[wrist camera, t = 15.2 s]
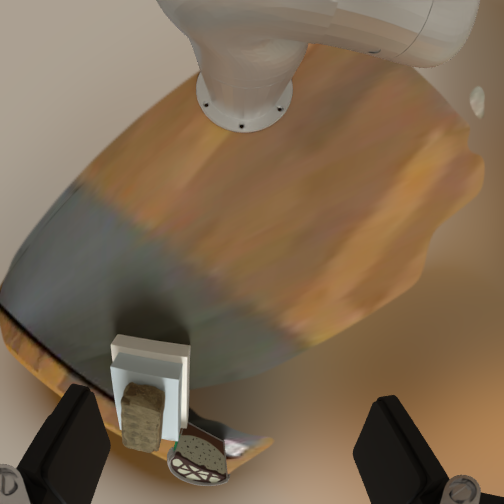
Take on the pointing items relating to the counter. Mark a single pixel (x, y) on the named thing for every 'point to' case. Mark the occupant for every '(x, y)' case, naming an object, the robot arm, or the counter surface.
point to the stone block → (142, 417)
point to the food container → (198, 457)
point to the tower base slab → (159, 352)
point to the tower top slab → (153, 374)
